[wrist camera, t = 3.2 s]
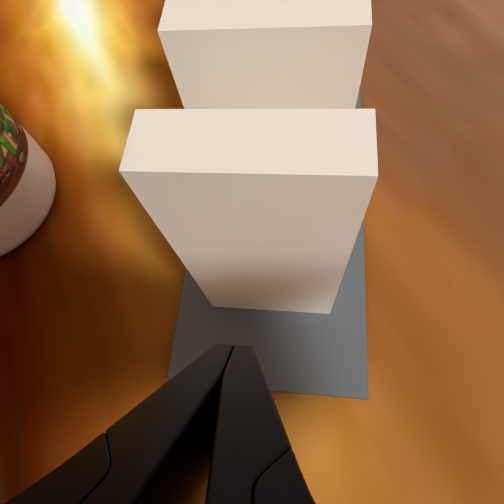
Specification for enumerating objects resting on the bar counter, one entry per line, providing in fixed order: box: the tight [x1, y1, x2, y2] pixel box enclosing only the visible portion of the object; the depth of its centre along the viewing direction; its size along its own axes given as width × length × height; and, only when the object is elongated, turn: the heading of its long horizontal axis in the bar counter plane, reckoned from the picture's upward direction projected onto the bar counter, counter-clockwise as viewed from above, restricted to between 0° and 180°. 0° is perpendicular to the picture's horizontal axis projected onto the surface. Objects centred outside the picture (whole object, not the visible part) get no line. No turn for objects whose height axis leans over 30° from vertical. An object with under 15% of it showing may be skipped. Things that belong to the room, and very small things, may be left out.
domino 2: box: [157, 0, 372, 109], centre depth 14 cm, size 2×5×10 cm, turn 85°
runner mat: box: [167, 87, 368, 399], centre depth 20 cm, size 24×8×1 cm, turn 175°
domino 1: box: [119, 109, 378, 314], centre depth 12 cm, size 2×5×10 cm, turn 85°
